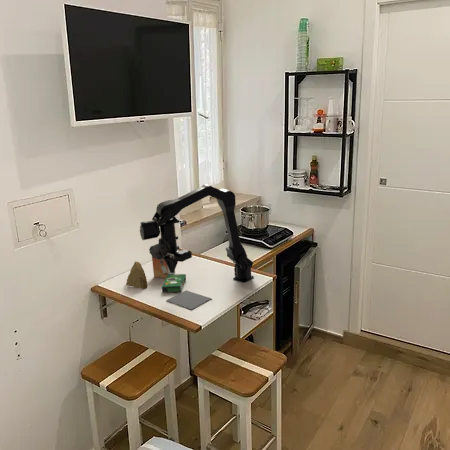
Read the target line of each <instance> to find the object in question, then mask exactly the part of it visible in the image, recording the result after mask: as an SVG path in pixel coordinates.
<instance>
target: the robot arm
mask: <svg viewBox="0 0 450 450" xmlns="http://www.w3.org/2000/svg"><path fill="white" fill-rule="evenodd" d="M207 197H212V198H214V199H216V201H217V202H216V203H217V204H218V205H219V208H220V209H221V211H222V213H223V214H222V215H223V219H224V223H225V228H226V232H227V238H228V242H229V244H228V247H225V251H226V257H228V258H229V260H231V261H232V262H233V264H234V277H233V280H234V281H238V282H242V283H247V282H248V281H250V280H252V279H253V278H254V277H255V276H254V275H252V267H253V265H254V261H252V260H251V259H249V258H248V255H247V251H246V249H245V247H244V246H243V244H242V242H241V238H240V234H239V229H238V224H237V219H236V213H235V208H236V203H237V201H236V195H235V193H234V192H233V191H232V190H229V189H226V188H220V189H219V188H216V187H215V186H214V187H213V186H212V185H210V184H208V183H204V184H203V185H202V186H200V187H197V188H195V189H194V190H191V191H190V192H187V193H186V194H184V195H182V196H179V197H178V198H175V199H169V200H165V201H162V202H160V203H158V204H157V206H156V210H155V213H154V214H153V216H152V218H151V220H148V221H141V222H140V227H139V233H140V234H139V235H140V239H141V240H142V241H146V240H151V239H157V238H158V237H160V238H158V243H156V244H153V245H152V246H151V245H150V247H149V249H148V250H149V254H150V255H151V258H152V257H153V258H156V259H158V260H159V259H163V260H165V262H166V264H167V266H168V268H169V270H170V272H171V273H174V271H175V272H176V268H177V265H178V262H180V263H181V262H184V261H187V260H189V259H192V258H193V254H192V251H191V250H188V249H186V248H185V249H181V250H180V246H179V245H178V243H177V240H179V236H178V235H177V234H176V225H175V224H179V223H180V222H181V221H180V219H177V217H176V216H177V215H179V213H180V212H181V211H182V210H184V209H185V208H187V207H189V206H191V205H193V204H195V203H196V202H199V201H201V200H203V199H205V198H207Z"/></svg>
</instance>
